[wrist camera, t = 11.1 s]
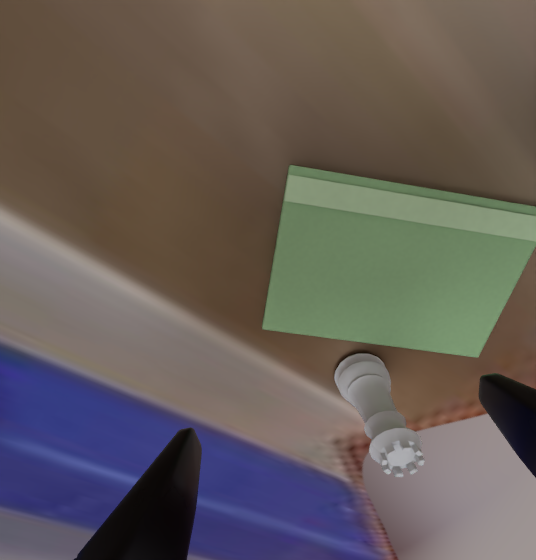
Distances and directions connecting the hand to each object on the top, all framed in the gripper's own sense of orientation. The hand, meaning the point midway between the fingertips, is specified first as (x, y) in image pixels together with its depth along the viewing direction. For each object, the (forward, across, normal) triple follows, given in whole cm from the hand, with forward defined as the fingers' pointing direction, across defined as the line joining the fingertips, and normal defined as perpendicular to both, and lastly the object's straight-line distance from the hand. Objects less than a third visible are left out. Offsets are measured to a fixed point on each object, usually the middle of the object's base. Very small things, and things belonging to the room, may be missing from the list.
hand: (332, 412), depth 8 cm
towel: (+12, -7, +1) cm, 15 cm away
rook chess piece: (+13, -4, +10) cm, 17 cm away
